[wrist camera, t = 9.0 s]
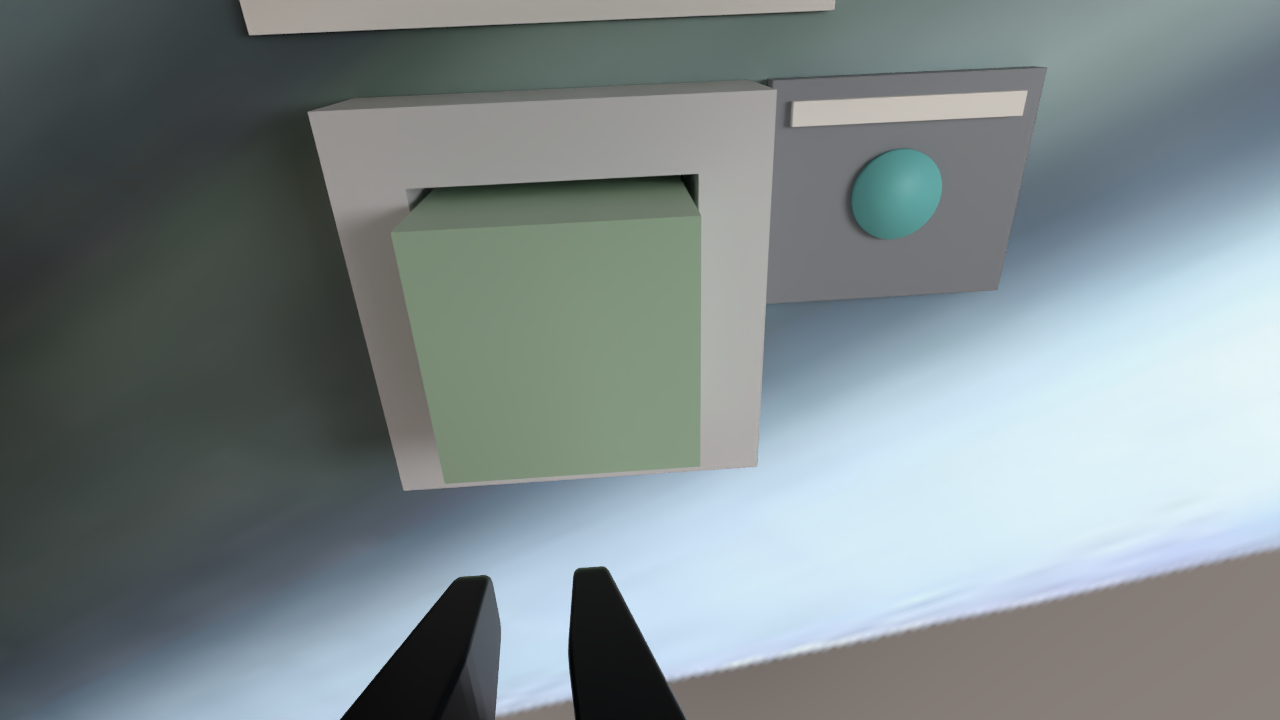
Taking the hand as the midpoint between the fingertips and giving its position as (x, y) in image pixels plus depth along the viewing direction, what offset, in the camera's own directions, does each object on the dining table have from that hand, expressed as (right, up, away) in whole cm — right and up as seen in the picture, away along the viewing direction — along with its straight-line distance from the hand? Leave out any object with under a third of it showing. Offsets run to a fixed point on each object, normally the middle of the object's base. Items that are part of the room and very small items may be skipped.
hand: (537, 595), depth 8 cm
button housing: (-1, +5, +11) cm, 12 cm away
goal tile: (+8, +8, +10) cm, 15 cm away
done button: (-1, +5, +9) cm, 10 cm away
